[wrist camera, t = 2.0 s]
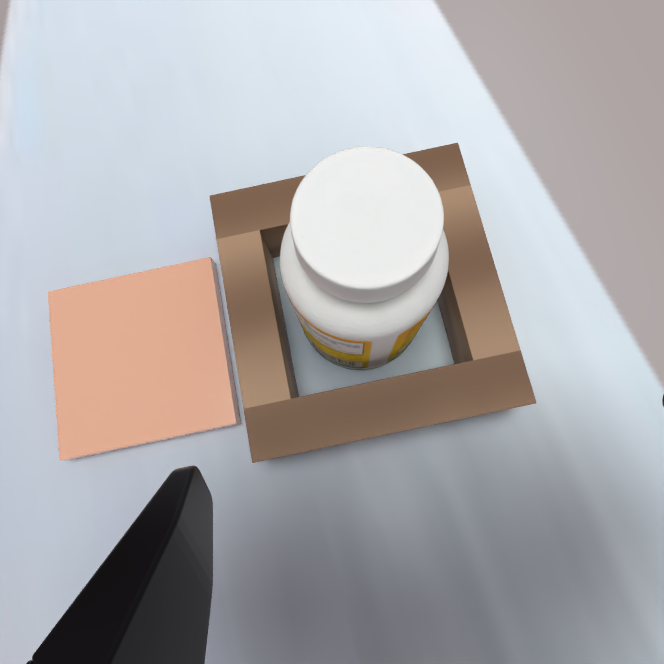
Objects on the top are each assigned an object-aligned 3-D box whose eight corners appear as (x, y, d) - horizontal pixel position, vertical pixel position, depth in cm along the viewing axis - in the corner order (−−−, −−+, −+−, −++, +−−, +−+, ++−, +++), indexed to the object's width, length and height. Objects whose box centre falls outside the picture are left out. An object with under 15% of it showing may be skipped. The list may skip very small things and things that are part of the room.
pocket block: (510, 408, 20) (536, 403, 17) (267, 459, 20) (252, 462, 17) (444, 180, 23) (457, 142, 20) (228, 227, 23) (209, 195, 20)
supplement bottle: (316, 383, 21) (283, 339, 11) (290, 272, 22) (241, 149, 13) (435, 354, 21) (499, 286, 11) (402, 244, 22) (437, 101, 13)
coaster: (240, 423, 21) (236, 423, 20) (70, 459, 21) (59, 460, 20) (215, 263, 22) (210, 257, 21) (58, 296, 22) (47, 291, 21)
